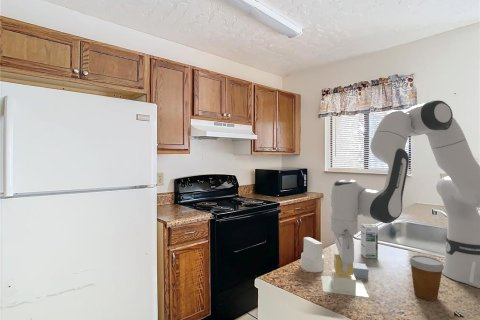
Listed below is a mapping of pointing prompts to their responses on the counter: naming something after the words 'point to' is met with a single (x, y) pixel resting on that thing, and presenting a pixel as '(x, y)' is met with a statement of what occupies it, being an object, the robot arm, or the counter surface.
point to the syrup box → (369, 240)
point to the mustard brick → (339, 266)
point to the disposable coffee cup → (426, 276)
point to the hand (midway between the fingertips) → (343, 266)
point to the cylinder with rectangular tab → (312, 255)
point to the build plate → (329, 288)
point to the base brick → (343, 281)
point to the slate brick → (360, 270)
